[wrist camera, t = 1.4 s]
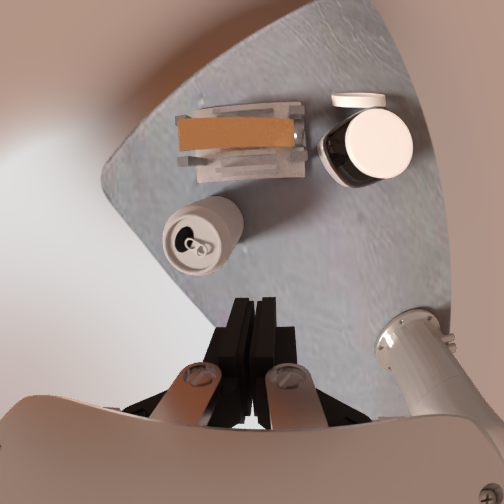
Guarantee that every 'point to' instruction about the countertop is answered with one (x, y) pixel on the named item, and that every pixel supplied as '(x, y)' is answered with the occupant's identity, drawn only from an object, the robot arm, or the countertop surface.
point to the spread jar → (365, 142)
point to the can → (202, 235)
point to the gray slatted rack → (248, 148)
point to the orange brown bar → (240, 133)
